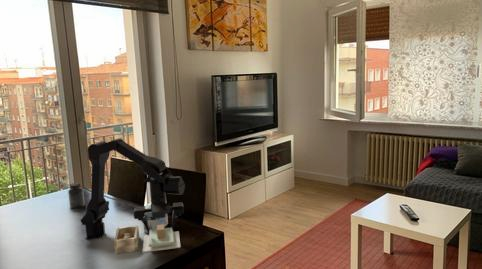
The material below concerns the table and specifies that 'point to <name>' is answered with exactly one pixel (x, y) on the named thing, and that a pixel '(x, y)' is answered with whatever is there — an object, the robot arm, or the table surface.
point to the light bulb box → (154, 220)
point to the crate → (126, 239)
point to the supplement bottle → (76, 196)
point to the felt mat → (170, 246)
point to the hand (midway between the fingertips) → (160, 231)
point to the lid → (161, 236)
